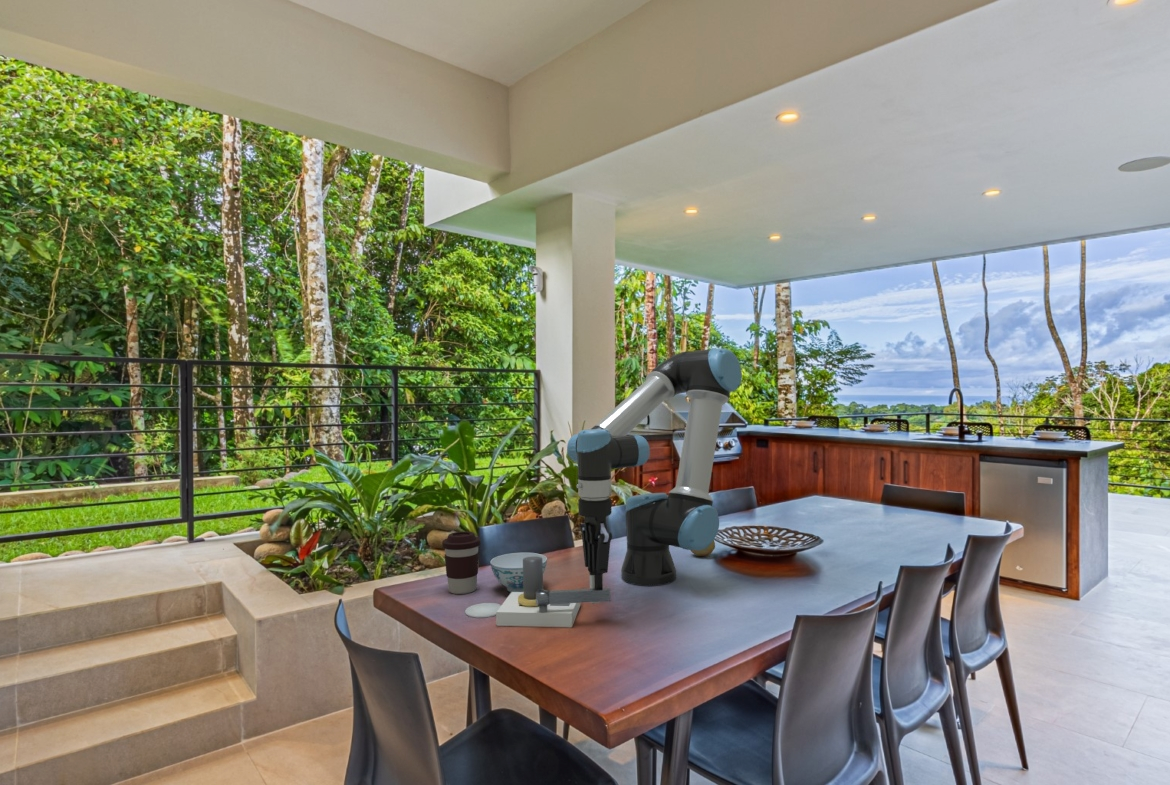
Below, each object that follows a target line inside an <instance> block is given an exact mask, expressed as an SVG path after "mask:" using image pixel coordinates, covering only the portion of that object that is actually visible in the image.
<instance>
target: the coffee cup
mask: <svg viewBox="0 0 1170 785" xmlns="http://www.w3.org/2000/svg"><path fill="white" fill-rule="evenodd" d="M441 546H442V549H444V553H445V554H444V564H445V571H446V572H445V573H446V574H445V575H446V577H447V585H448V592H449V593H451V594H453V595H454V594H455V595H464V594H465V595H466V594H469V593H472V592H474V591H476V590H477V587H478V586H477V584H478V583H477V582H478V573H479V556H480V554H479V553H480V552H479V546H481V538H480V537H479V536H476V534H475V533H474V532H473V531H464V530H462V531H456V532H452V533H448V535H447V537H446V538H445V539H443V540H442V545H441Z"/></svg>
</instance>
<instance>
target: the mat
mask: <svg viewBox="0 0 1170 785" xmlns="http://www.w3.org/2000/svg"><path fill="white" fill-rule="evenodd" d="M501 605H502V604H499V603H497V602H496V603H495V602H483V603H482V602H481V603H476V604H473V605H472V604H471V606H468V607H466V608H465V611H464V612H465V615H466V616H468V617H470V618H474V619H482V618H483V619H484V618H492V617H495V616H496V612H497V610H498V609H499V608H500V607H501Z"/></svg>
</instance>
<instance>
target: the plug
mask: <svg viewBox="0 0 1170 785" xmlns="http://www.w3.org/2000/svg"><path fill="white" fill-rule="evenodd" d="M538 590H544V573H543V561H542V558H541V557H535V556H533V557H526V558H524V559H523V594H521V595H519V596H518V603H519V604H521V605H524V606H539V605H536V591H538Z"/></svg>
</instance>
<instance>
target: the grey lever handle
mask: <svg viewBox="0 0 1170 785" xmlns="http://www.w3.org/2000/svg"><path fill="white" fill-rule="evenodd" d="M611 598H612V597H611V588H610V587H603V588H602V589H595V588H593V589H590V588H576V589H558V590H557V589H554V590H549V589H543V590H538V591H536V605H539V606H545V605H549V604H564V603H580V604H582V603H591V602H599V603H603V602H611Z"/></svg>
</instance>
